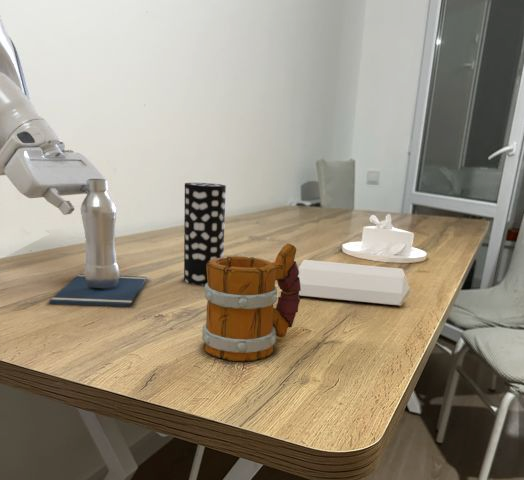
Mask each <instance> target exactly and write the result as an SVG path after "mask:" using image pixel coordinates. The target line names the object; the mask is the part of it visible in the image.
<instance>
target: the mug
mask: <svg viewBox="0 0 524 480" xmlns="http://www.w3.org/2000/svg"><path fill="white" fill-rule="evenodd" d="M296 254H297V247H296V246H295V245H293V244H292V243H286V244H285V245H283V246H282V248H281V249H280V250H279V252H278V253H277V255H276V257H275V260H274V262H271V261H269V260H267V259H263V258H260V257H255V256H251V257H248V256H241V255H230V256H229V255H228V256H227V257H224V256H223V258H216V259H212V260H210V261H208V263H207V264H206V269H207V280H208V283H206V284H205V286H204V299H205V300H206V301H207V304H206V322H205V323H204V324H203V326H202V331H201V333H202V334H201V338H202V341H203V350H204V352H206V353H207V354H209V355H210V356H212V357H215V358H217V359H223V360H225V361H231V362H246V361H248V362H254V361H257V360H262V359H264V358H266V357H269V356H271V355H272V354H273V352H274V345H275V344H276V341H277V339H276V337H278V338H285V337H286V335H287V331H288V330H289V328H292V327H293V325H294V321H295V318H296V315H297V313H298V312H299V305H300V302H301V298H300V296H299V291H301V287H300V279H299V277H298V275H299V270H298V267H299V266H298V264H297V261H295V257H296ZM276 282H277V285H278V287H279V289H280V290H281V291H280V296H278V287H276ZM276 302H277V304H276ZM274 304H276V306H275V307H274Z"/></svg>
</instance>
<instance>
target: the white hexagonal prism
mask: <svg viewBox="0 0 524 480" xmlns="http://www.w3.org/2000/svg"><path fill="white" fill-rule="evenodd" d="M298 270H299V275H298V277H299V279H300V287H301V291H299V297H307V298H316V299H317V298H318V299H326V300H336V301H348V302H355V303H364V304H365V303H367V304H377V305H385V306H386V305H387V306H396V307H397V306H398V307H401V306H402V305H403V304H404V302H405V301H406V300H407V298H408V297H409V295H410V294H411V293H410V292H411V288H410V286H409V283H408V280H407V277H406V274H405V272H404V268H400V267H399V268H398V267H389V266H379V265H365V264H357V263H356V264H355V263H346V262H345V263H344V262H335V261H323V260H313V259H303V260H302V262H301V263H300V264H299V266H298Z"/></svg>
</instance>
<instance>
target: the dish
mask: <svg viewBox="0 0 524 480" xmlns="http://www.w3.org/2000/svg"><path fill="white" fill-rule="evenodd" d="M392 219H393V218H392V215H391V213H387V214H386V215H385V219H384V220H381V221H380V220H379V219H378V217H377V216H376V215H375V214H371V215H370V217H369V219H368V220H369V222H370V223H372V224H374V225H368V226H363V227H362V235H361V241H352V242H345V243H343V244H342V248H341V252H343V253H344V254H346V255H348V256H351V257H355V258H357V259H363V260H369V261H375V262H383V263H397V264H398V263H399V264H407V263H408V264H409V263H410V264H411V263H419V262H424V261H425V260H426V259H428V258H427V257H428V254H427V252H426V251H425V250H423V249H420V248H417V247H413V242H414V237H415V233H414V232H412V231H408V230H404V229H400V228H397V227H394V225H393V224H392Z"/></svg>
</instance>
